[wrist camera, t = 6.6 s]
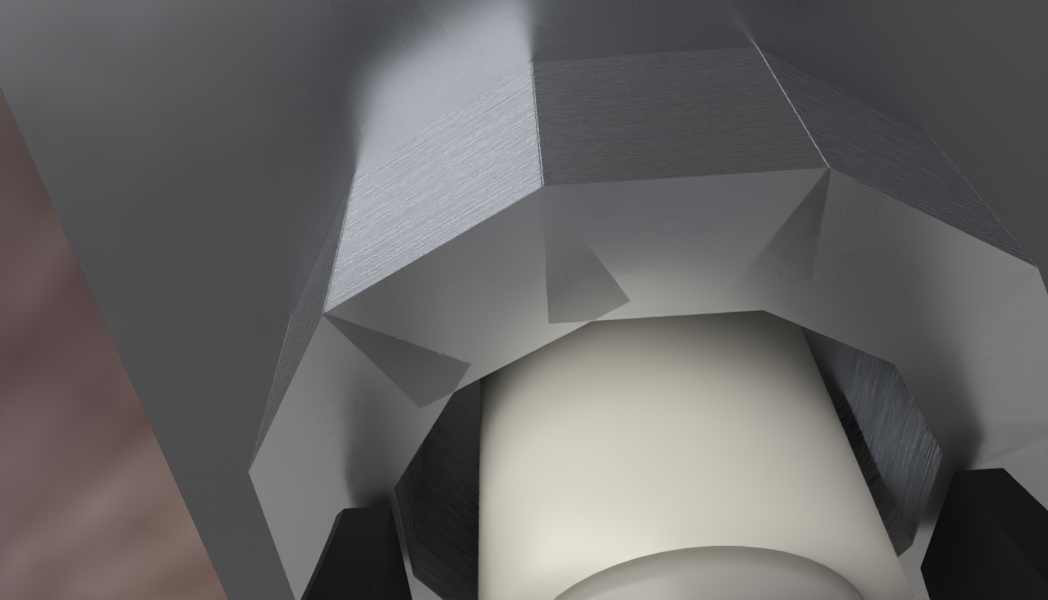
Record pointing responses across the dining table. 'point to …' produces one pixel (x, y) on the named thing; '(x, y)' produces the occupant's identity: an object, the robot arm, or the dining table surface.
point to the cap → (674, 470)
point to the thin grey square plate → (536, 231)
